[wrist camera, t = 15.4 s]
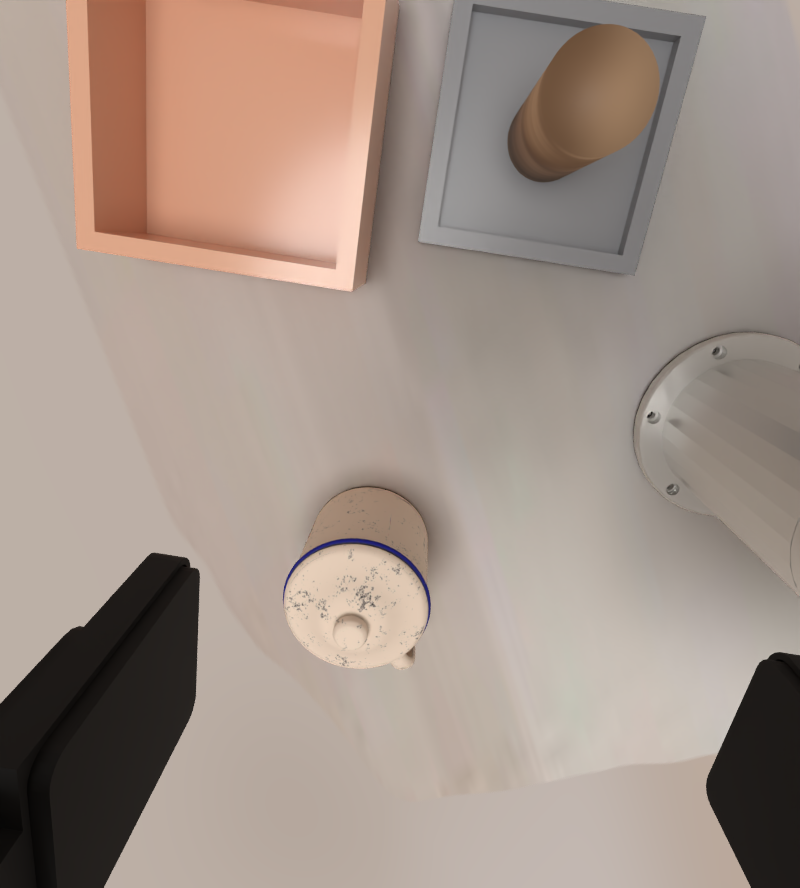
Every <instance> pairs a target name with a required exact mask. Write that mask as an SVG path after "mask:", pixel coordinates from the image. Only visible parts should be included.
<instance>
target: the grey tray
mask: <svg viewBox="0 0 800 888" xmlns="http://www.w3.org/2000/svg"><path fill="white" fill-rule="evenodd" d="M705 19H706V16H700V15H694V14H687V13H681V12H674V11H668V10H662V9H655V8H649V7H642V6H636V5H629V4H623V3H617V2H610V1H604V0H454V4H453V11H452V18H451V24H450V31H449V38H448V45H447V51H446V58H445V65H444V71H443V78H442V85H441V92H440V98H439V105H438V112H437V118H436V125H435V132H434V138H433V145H432V152H431V159H430V165H429V172H428V179H427V185H426V192H425V199H424V206H423V212H422V219H421V226H420V232H419V239H418V242H423V243H430V244H436V245H442V246H449V247H455V248H461V249H468V250H474V251H481V252H487V253H493V254H500V255H506V256H512V257H519V258H525V259H532V260H538V261H544V262H551V263H557V264H563V265H570V266H576V267H583V268H589V269H595V270H602V271H608V272H615V273H621V274H627V275H634V276H635V272H636V269H637V265H638V261H639V258H640V254H641V250H642V247H643V243H644V240H645V236H646V232H647V229H648V225H649V222H650V218H651V214H652V211H653V207H654V204H655V200H656V196H657V193H658V189H659V185H660V182H661V178H662V175H663V171H664V167H665V164H666V160H667V157H668V153H669V149H670V146H671V142H672V138H673V135H674V131H675V128H676V124H677V120H678V117H679V113H680V110H681V106H682V102H683V99H684V95H685V91H686V88H687V84H688V81H689V77H690V73H691V70H692V66H693V63H694V59H695V55H696V52H697V48H698V45H699V41H700V37H701V34H702V30H703V26H704V23H705ZM600 24H616V25H620V26H624V27H626V28H629V29H631V30H633V31H634V32H636V33H637V34H639V35H640V36H641V37H642V38H643V39H644V40H645V41H646V42H647V44H648V45H649V46H650V48H651V50H652V51H653V54H654V56H655V58H656V61H657V65H658V69H659V77H660V86H659V95H658V100H657V103H656V106H655V110H654V112H653V114H652V116H651V118H650V120H649V122H648V123H647V125H646V127H645V128H644V129H643V131H642V132H641V133H640V134H639V135H638V136H637V137H636V138H635V139H634V140H633V141H632V142H631V143H629V144H628V145H627V146H625V147H623V148H622V149H620V150H618V151H616V152H614V153H612V154H610V155H608V156H606V157H604V158H601V159H599V160H597V161H595V162H593V163H591V164H589V165H587V166H585V167H583V168H581V169H579V170H577V171H575V172H573V173H571V174H569V175H566V176H564V177H562V178H560V179H558V180H555V181H552V182H536V181H532V180H530V179H528V178H526V177H524V176H523V175H522V174H520V173H519V171H518V170H517V169H516V168H515V166H514V165H513V163H512V161H511V159H510V156H509V152H508V145H507V144H508V132H509V128H510V125H511V123H512V121H513V119H514V117H515V115H516V114H517V112H518V111H519V109H520V108H521V106H522V105H523V103H524V102H525V100H526V99H527V97H528V95H529V94H530V92H531V91H532V89H533V88H534V86H535V85H536V83H537V82H538V80H539V79H540V77H541V76H542V74H543V73H544V71H545V70H546V68H547V67H548V65H549V64H550V62H551V61H552V59H553V58H554V56H555V55H556V53H557V52H558V50H559V49H560V48H561V47H562V46H563V44H565V43H566V42H567V41H568V40H569V39H570V38H571V37H573V36H574V35H575V34H577V33H579V32H580V31H582V30H584V29H587V28H589V27H592V26H596V25H600Z"/></svg>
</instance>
